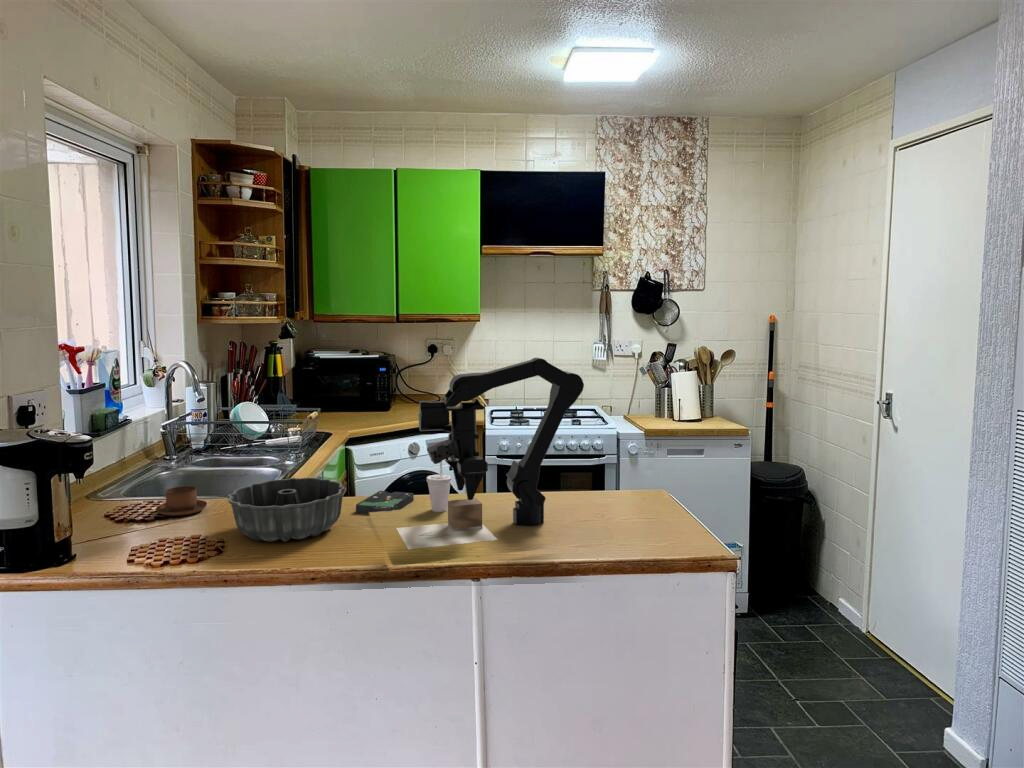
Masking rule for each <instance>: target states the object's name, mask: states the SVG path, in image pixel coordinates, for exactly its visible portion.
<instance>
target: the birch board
mask: <svg viewBox="0 0 1024 768" xmlns="http://www.w3.org/2000/svg"><path fill="white" fill-rule="evenodd" d="M482 526H483V529H474V530H465V531H455V532H453V531H452V530H451V529H450V527H449V526H448V522H445V523H443V522H442V523H435V524H426V525H425V524H424V525H423V524H422V525H415V526H414V525H413V526H405V527H404V526H402V527H396V530H397V532H398V533H399V536H400V538H401V539H402V541H403V543H404V545H405V546H406V548H407V550H408V551H409V550H415V549H425V548H436V547H445V546H455V545H462V544H463V545H465V544H474V543H481V542H492V541H498V538H497V537H496V536H495V535H494V534H493V533H492V532H491V531H490V530H489V529H488V528H487V527H486V526H485V525H484V524H483V523H482Z"/></svg>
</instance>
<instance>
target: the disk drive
mask: <svg viewBox="0 0 1024 768" xmlns="http://www.w3.org/2000/svg"><path fill="white" fill-rule="evenodd" d="M414 499H415V498H414V493H413V492H401V491H393V492H388V491H386V490H379V491H377V492H375V493H373V494H371V495H370V496H368V497H367V498H365V499H363V500H361V501H360V502H358V503H357V504H355V514H367V515H369V514H370V513H378V512H379V513H380V512H387V511H389V512H392V511H400V510H402V509H404V508H405V507H407V505H410V504H411V503H413V502H414Z"/></svg>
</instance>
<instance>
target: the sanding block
mask: <svg viewBox="0 0 1024 768" xmlns="http://www.w3.org/2000/svg"><path fill="white" fill-rule="evenodd" d="M447 523H448V526H449V527H450V529H451V530H452V531H453V532H455V531H465V530H474V529H483V526H482V524H483V502H482V501H480V500H479V499H478V498H477V497H475V498H473V499H472V500H468V498H463V499H454V500H453V499H451V500H448V509H447Z"/></svg>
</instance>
